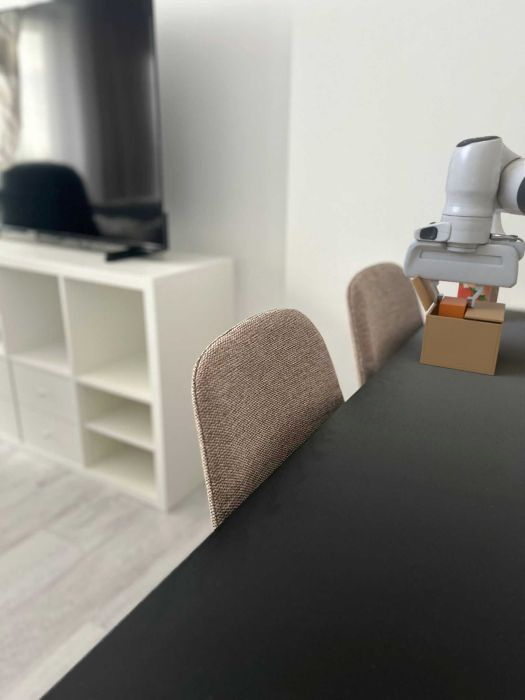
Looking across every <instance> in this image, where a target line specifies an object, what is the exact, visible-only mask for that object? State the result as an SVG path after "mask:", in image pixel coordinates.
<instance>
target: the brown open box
mask: <svg viewBox="0 0 525 700" xmlns="http://www.w3.org/2000/svg"><path fill="white" fill-rule="evenodd" d="M439 305H440V304H435V303H434V302H433V304H432V305H431V307H430V308H429V309H428V311H427V313H426V315H425V319H424V320H425V321H424V328H423V335H422V343H421V351H420V358H419V364H421V365H422V364H423V365H428V366H434V367H440V368H446V369H450V370H451V369H452V370H458V371H465V372H469V373H470V372H471V373H476V374H482V375H488V376H493V377H495V371H496V367H497V366H496V365H497V361H498V355H499V350H500V344H501V339H502V333H503V328H504V321H505V313H506V303H503V302H497V303H495V302H486V301H477V300H476V301H475V306H474V308H468V307H467V311H466V314H465V316H464V319H458V318H450V317H442V316H438V312H439Z"/></svg>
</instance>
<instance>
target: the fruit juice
mask: <svg viewBox="0 0 525 700" xmlns="http://www.w3.org/2000/svg"><path fill="white" fill-rule="evenodd" d="M501 214H502V212H498V211H494V216H493V223H492V229H491V233H492V234H503V235H507V234H506V232H505V230H504V227H503V224H502V223H503V222H502V215H501ZM490 240H491V239H490ZM503 241H506V240H503ZM489 243H490V241H489ZM475 288H476V284H466V283H458V289H457V294H456V297H458V298H466V299H467V298H468V297H473V296H474V294H475V293H476V292H477V290H475ZM499 292H500V287H495V286H485V285H484V290H483V292H482V293H481V294H480V295H479V296H478V298H477V299H476V300H477V301H486V302H495V303H498V298H499Z"/></svg>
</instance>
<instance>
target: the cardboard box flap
mask: <svg viewBox="0 0 525 700" xmlns="http://www.w3.org/2000/svg"><path fill="white" fill-rule="evenodd" d="M430 281H431V280H428V279H420V278H419V275H417V276H416V277H415V278H411V283H412V285H413V287H414V289H415V292H416V294H417V296H418V298H419V300H420V303H421V306H422V308H423V309H424V312H429V310H430V309H431V308H432V306H433V305H434V296H435V295H434V293H433V291H432V289H431V287H430Z"/></svg>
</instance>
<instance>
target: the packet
mask: <svg viewBox="0 0 525 700" xmlns="http://www.w3.org/2000/svg"><path fill="white" fill-rule="evenodd" d="M466 304H467V299H466V298H458V297H457V296H446V295H443V298H442V301H441V302H440V305H439V312H438V316H442V317H450V318H458V319H464V316H465V314H466V311H467V307H466Z"/></svg>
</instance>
